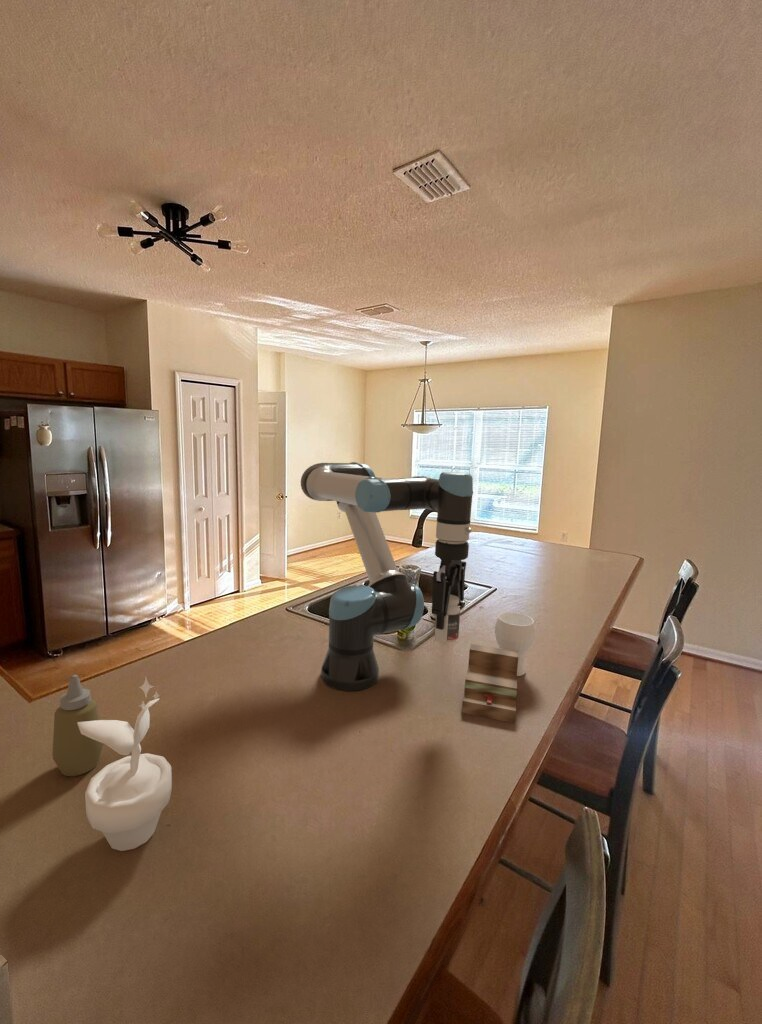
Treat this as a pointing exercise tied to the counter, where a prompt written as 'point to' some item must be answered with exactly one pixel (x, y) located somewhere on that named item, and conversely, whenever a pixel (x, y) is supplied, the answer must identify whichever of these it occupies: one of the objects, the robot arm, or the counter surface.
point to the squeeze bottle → (75, 731)
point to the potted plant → (127, 782)
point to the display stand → (491, 683)
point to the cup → (515, 635)
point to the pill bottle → (452, 619)
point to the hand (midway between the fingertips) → (446, 636)
